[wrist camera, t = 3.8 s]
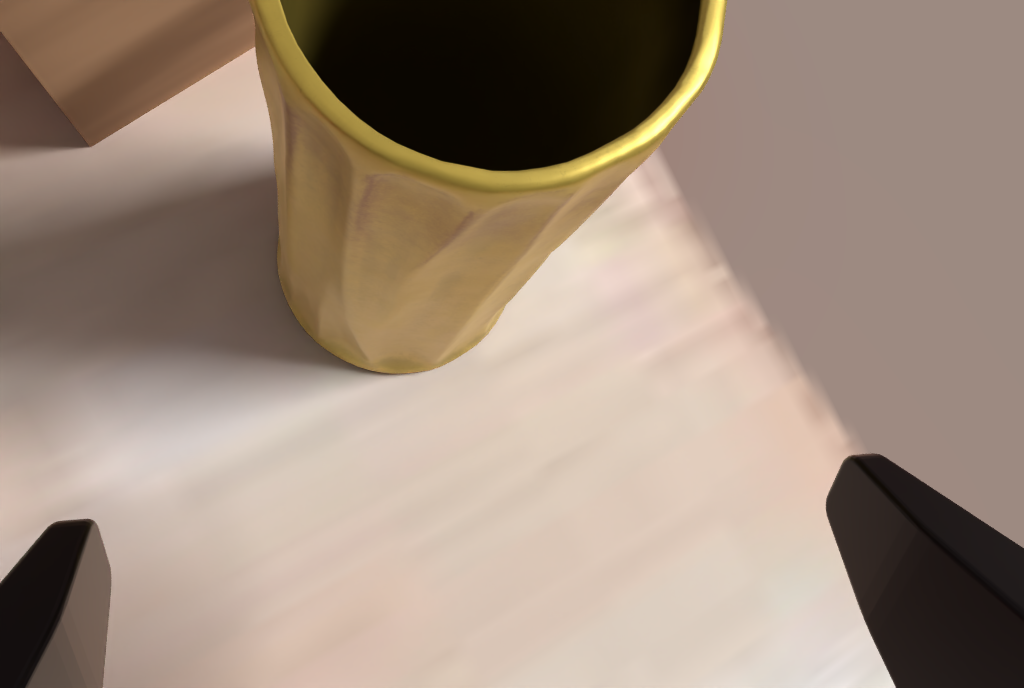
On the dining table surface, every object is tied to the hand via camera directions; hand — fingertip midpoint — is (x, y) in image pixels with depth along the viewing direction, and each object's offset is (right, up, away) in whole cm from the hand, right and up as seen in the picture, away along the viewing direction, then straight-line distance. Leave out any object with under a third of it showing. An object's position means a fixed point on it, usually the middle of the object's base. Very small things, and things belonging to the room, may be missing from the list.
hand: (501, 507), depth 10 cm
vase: (-3, +4, +13) cm, 14 cm away
